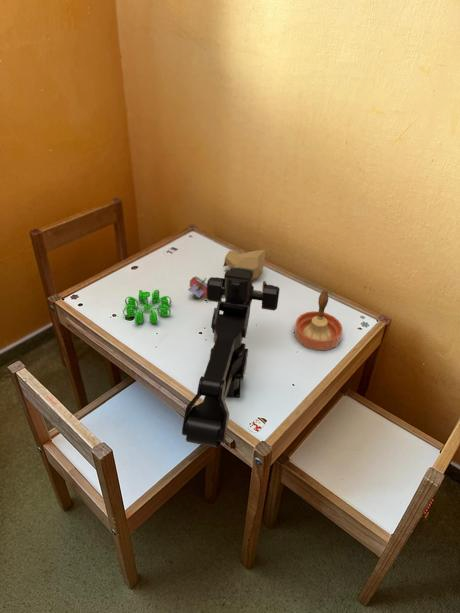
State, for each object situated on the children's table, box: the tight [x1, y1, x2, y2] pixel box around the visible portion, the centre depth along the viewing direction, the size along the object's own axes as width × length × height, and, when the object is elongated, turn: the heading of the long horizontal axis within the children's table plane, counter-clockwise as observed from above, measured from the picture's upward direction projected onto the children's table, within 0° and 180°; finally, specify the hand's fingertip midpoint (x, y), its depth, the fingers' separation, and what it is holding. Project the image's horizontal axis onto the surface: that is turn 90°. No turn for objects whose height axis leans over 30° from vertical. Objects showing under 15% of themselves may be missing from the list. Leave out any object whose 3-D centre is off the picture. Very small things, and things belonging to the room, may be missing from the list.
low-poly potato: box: [222, 249, 266, 281], centre depth 156 cm, size 15×11×12 cm
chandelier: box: [122, 289, 172, 325], centre depth 141 cm, size 15×15×7 cm
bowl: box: [294, 310, 343, 351], centre depth 136 cm, size 13×13×4 cm
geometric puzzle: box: [187, 276, 208, 299], centre depth 148 cm, size 7×7×8 cm
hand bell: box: [303, 288, 332, 340], centre depth 132 cm, size 8×8×16 cm
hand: (247, 280), depth 129 cm, fingers open, 9 cm apart
